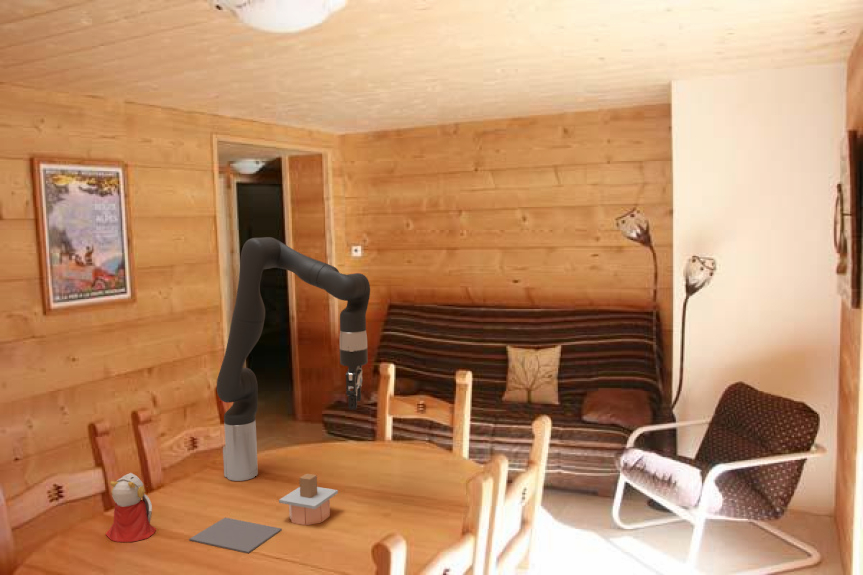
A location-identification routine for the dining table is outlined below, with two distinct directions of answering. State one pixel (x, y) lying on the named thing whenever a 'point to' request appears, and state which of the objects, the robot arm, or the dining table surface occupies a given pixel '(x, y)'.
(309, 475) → the lid
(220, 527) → the mat
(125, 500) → the figurine
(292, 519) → the bowl
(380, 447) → the dining table surface
